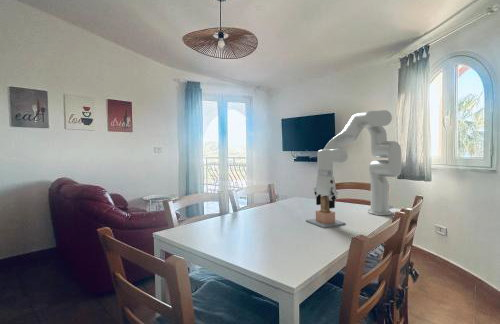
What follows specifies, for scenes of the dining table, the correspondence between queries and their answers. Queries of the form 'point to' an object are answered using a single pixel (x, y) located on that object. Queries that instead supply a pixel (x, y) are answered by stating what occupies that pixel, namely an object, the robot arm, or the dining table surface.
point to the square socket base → (325, 220)
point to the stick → (325, 204)
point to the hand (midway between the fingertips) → (325, 206)
